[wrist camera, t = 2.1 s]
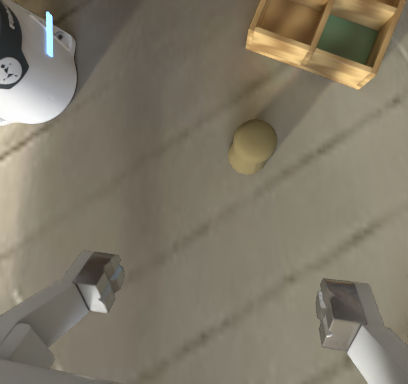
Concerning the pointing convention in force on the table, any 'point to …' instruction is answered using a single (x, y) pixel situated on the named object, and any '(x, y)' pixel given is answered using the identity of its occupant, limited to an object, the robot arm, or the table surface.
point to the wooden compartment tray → (326, 35)
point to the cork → (252, 146)
